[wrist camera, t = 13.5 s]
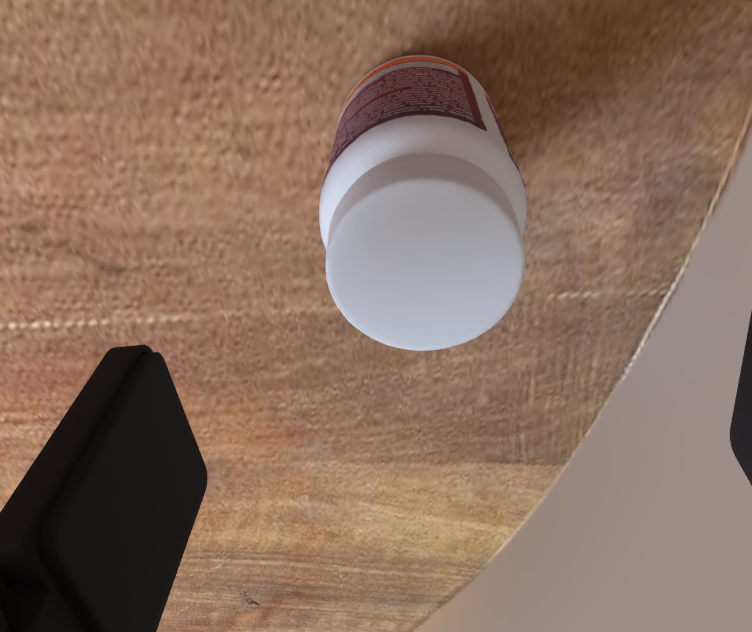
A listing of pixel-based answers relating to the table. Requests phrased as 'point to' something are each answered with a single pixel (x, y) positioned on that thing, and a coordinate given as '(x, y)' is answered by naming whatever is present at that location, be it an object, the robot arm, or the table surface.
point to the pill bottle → (422, 207)
